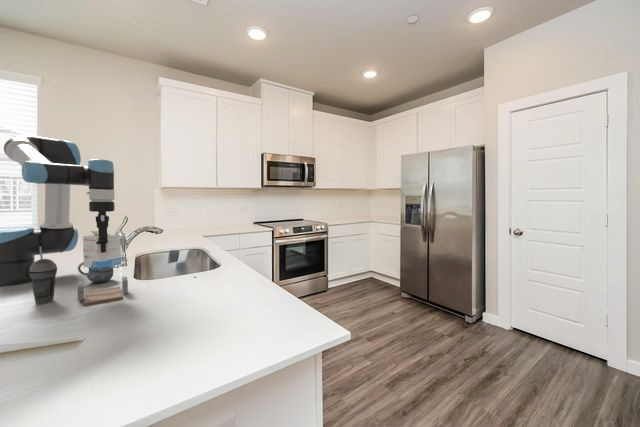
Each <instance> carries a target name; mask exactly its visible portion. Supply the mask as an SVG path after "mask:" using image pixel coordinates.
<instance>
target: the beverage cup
mask: <svg viewBox="0 0 640 427" xmlns="http://www.w3.org/2000/svg"><path fill="white" fill-rule="evenodd" d="M39 249H40V255H39V256H40V259H38V260H36V261H35V262H34V263H33V264H32V265H31V267H30V271H29V273H30V277H31V279H32V281H31V284H32V285H31V286H32V292H33V297H34V301H35V302H34V303H35V305H44V304H49V303H52V302H53V301H54V297H55V288H56V287H55V286H56V277H57V276H56V275H57V272H58V266H57V264H56V262H54V260H52V259H50V258H43V254H42V249H41V247H39Z"/></svg>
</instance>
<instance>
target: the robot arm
mask: <svg viewBox="0 0 640 427" xmlns="http://www.w3.org/2000/svg"><path fill="white" fill-rule="evenodd" d="M3 151H4V153H5V155H6V156H7V158H8V159H10V160H11V161H13V162H16V163H18V164H19V165H20V166H21V177H22V179H23V181H25V183H31V184H33V183H34V184H36V185H38V184H39V185H40V184H42V185H43V184H44V187H45V188H44V193H45V194H44V222H43V223H41V224H40V225H39V229H35V228H34V227H32V226H27V227H15V228H10V229H3V230H0V285H1V286H10V285H13V286H14V285H19V284H24V283H29V282H32V279H31V277H30V273H29V271H30V267H31V265H32V264H33V263H34V262H36V261H35V256H38V255H39V256H40V249H39V247H41V249H42V255H46V254H47V255H48V254H57V253H61V254H62V253H65V252H70V251H73V250H74V249H75V248H76V246H77V245H78V242H79V241H78V240H79V232H78V228H76V227H74V224H73V223H71V222H70V212H71V211H70V208H71V207H70V206H71V204H70V202H71V186H84V187H87V186H88V191H87V192H86V195H88V198H89V199H88V200H89V202H88V210H89V212H93V213H96V212H97V215H96V216H95V222H96V228H97V229H98V230H97V231H98V232H99V233H98V232H97V233H98V234H99V240H98V242H96V244H98V253H99V262H102V261H108V240H107V234H108V228H109V221H110V216H109V215H107V213H108V212H109V213H110V212H114V211H115V202H114V201H115V169H114V163H113V161H112V160H108V159H101V158H97V159H96V158H95V159H94V158H91V159H89V160H88V161H87V165H81V162H82V160H81V159H82V157H81V156H82V155H81V153H80V149H79V146H77V144H76V143H75V142H73V141H70V140H65V139H58V138H51V137H43V136H36V135H32V134H31V135H30V134H29V135H28V134H27V135H25V134H24V135H17V136H14V137H12V138H9V139H8V140H7V141H6V142H5V143H4V144H3Z"/></svg>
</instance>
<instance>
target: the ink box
mask: <svg viewBox="0 0 640 427" xmlns="http://www.w3.org/2000/svg"><path fill="white" fill-rule="evenodd" d="M90 233H92V234H93V235H83V236H82V248H83V262H84V265H83V267H84V268H88V269H89V268H97V269H101V268H105V267H110V266H114V267H115V266H117V265H122V255H121V254H122V252H121V234H114V233H107V240H108V261H102V262H99V253H98V244H96V242H98V240H99V232H98V230H97V231H95V230H90Z"/></svg>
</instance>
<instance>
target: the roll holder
mask: <svg viewBox="0 0 640 427" xmlns="http://www.w3.org/2000/svg"><path fill="white" fill-rule="evenodd" d="M121 278H122V279H121V280H122V281H121V282H122V284H121V285H122V288H121V286H113V287H107V288H106V287H105V288H100V289H93V290H86V291H85V294H84V281H81V282H80V281H79V282H78V283H77V289H76V290H77V301H82V300H84V301H83V302H84V304H83V306H91V305H96V304H103V303H109V302H114V301H119V300H123V298H124V297H123V294H127V293H129V290H128V289H129V287H128V286H129V281H128V280H129V279H128V277H127V276H126V275H125V276H121ZM122 292H123V293H122Z"/></svg>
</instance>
